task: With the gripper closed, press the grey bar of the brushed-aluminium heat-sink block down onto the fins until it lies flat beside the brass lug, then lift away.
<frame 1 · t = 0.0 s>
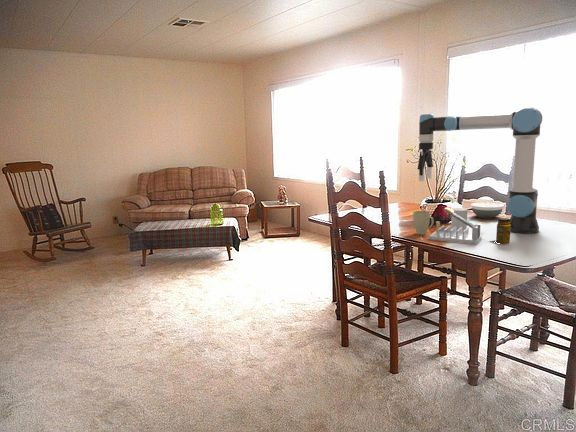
hand: (425, 179, 237), 28 cm above the table, fingers open, 13 cm apart
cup: (458, 230, 231), on the table
condiment: (501, 243, 203), on the table
grey bar: (461, 219, 209), point 11 cm above the table, hinge at 30.0°
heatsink: (455, 239, 213), on the table
bowl: (486, 217, 261), on the table
mug: (423, 234, 227), on the table
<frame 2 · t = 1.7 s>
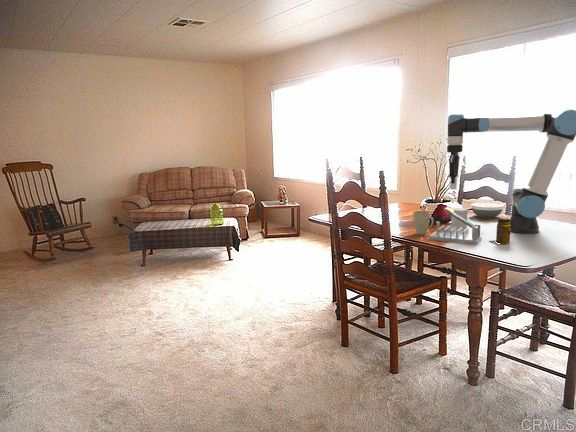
hand: (453, 189, 220), 24 cm above the table, fingers closed
nothing on the table moved.
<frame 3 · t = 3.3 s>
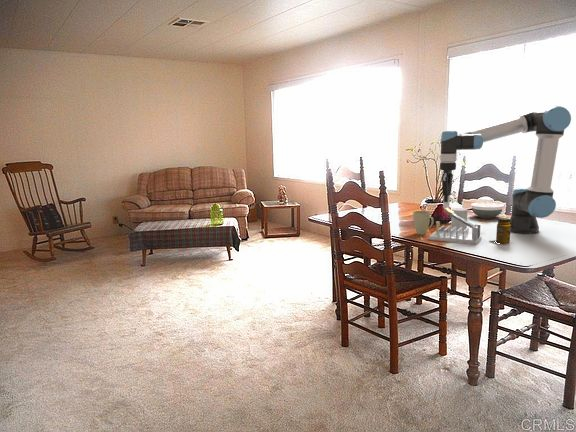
hand: (446, 207, 213), 16 cm above the table, fingers closed
grey bar: (461, 219, 209), point 11 cm above the table, hinge at 28.3°, touching gripper
everything else where it was.
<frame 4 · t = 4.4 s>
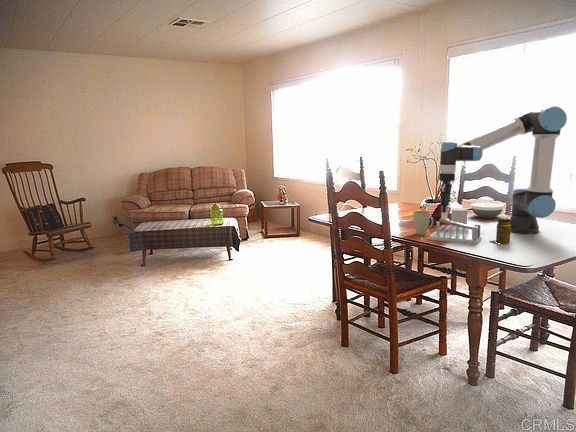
hand: (444, 218, 214), 11 cm above the table, fingers closed
grey bar: (459, 224, 210), point 8 cm above the table, hinge at 9.4°, touching gripper
everything else where it was.
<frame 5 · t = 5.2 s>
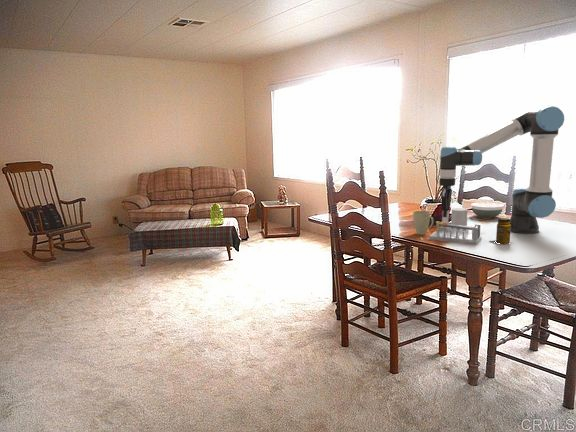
hand: (445, 222, 214), 8 cm above the table, fingers closed
grey bar: (458, 226, 211), point 7 cm above the table, hinge at 1.7°, touching gripper
everything else where it was.
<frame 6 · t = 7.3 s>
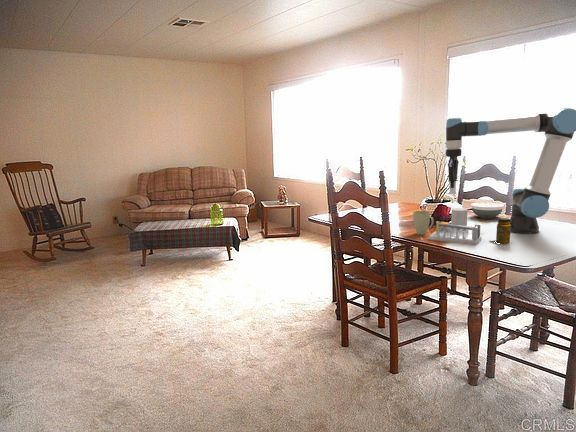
hand: (452, 193, 217), 22 cm above the table, fingers closed
grey bar: (458, 226, 211), point 7 cm above the table, hinge at 1.6°
everything else where it was.
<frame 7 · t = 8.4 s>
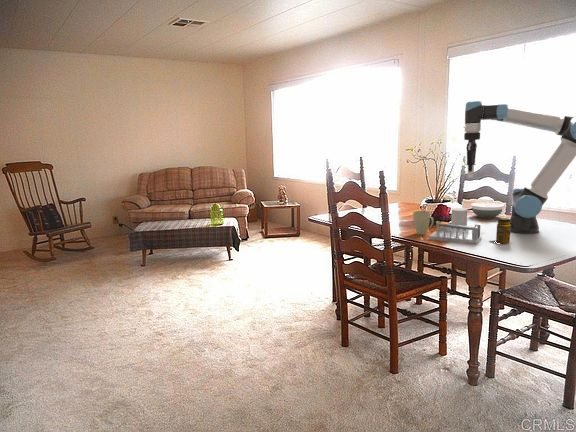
hand: (470, 177, 218), 30 cm above the table, fingers closed
nothing on the table moved.
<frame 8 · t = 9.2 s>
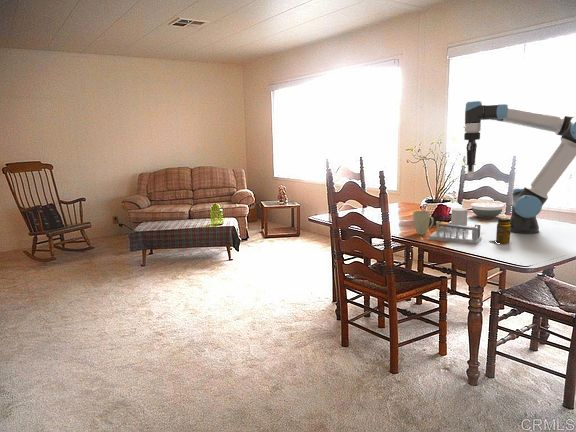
hand: (470, 177, 218), 30 cm above the table, fingers closed
nothing on the table moved.
at the end: grey bar at +2° (first picture: +30°); grey bar touching nothing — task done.
